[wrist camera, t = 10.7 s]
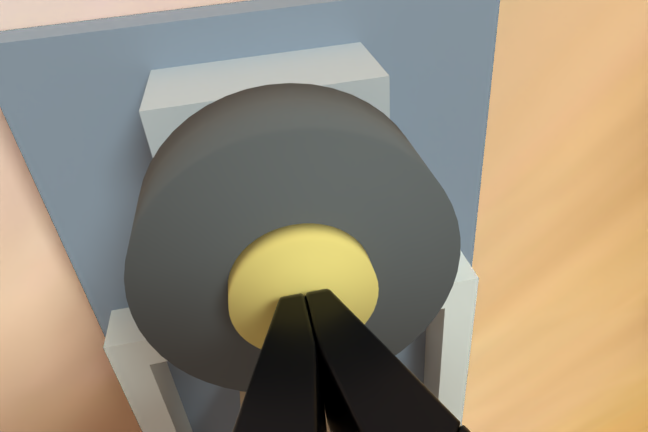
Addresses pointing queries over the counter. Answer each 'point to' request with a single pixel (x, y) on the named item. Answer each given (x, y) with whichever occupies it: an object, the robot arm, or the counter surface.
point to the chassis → (211, 85)
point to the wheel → (284, 227)
